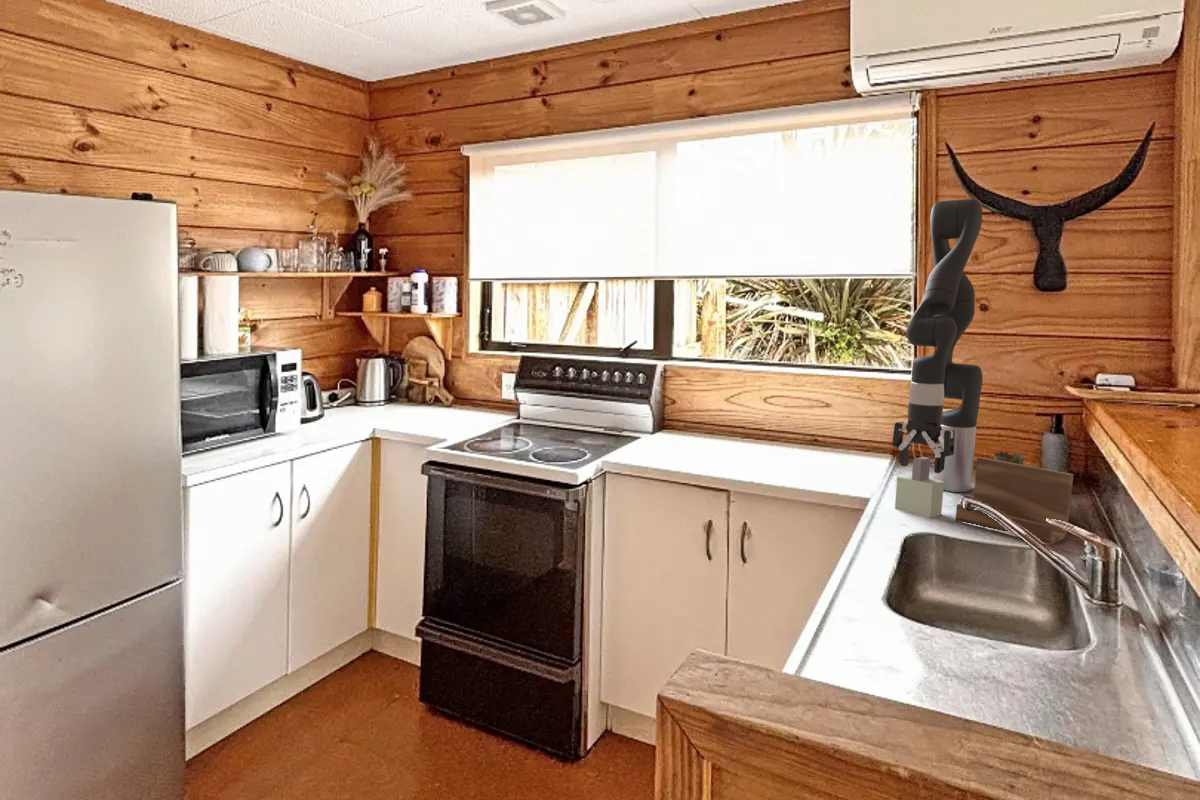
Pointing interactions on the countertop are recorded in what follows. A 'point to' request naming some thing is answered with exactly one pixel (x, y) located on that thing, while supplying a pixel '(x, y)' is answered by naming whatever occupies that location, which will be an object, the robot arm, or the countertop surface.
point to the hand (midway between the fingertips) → (920, 469)
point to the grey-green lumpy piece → (1009, 457)
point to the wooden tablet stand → (1021, 497)
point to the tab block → (919, 490)
